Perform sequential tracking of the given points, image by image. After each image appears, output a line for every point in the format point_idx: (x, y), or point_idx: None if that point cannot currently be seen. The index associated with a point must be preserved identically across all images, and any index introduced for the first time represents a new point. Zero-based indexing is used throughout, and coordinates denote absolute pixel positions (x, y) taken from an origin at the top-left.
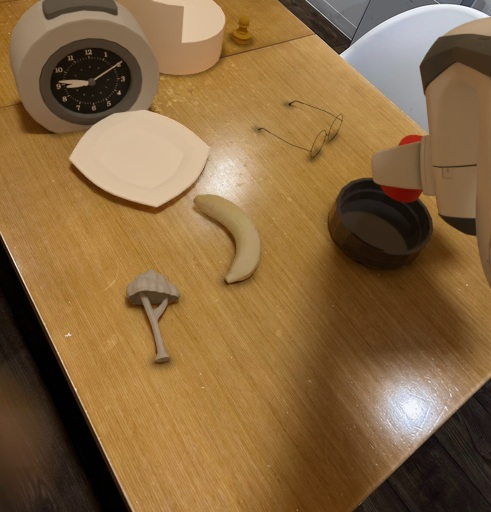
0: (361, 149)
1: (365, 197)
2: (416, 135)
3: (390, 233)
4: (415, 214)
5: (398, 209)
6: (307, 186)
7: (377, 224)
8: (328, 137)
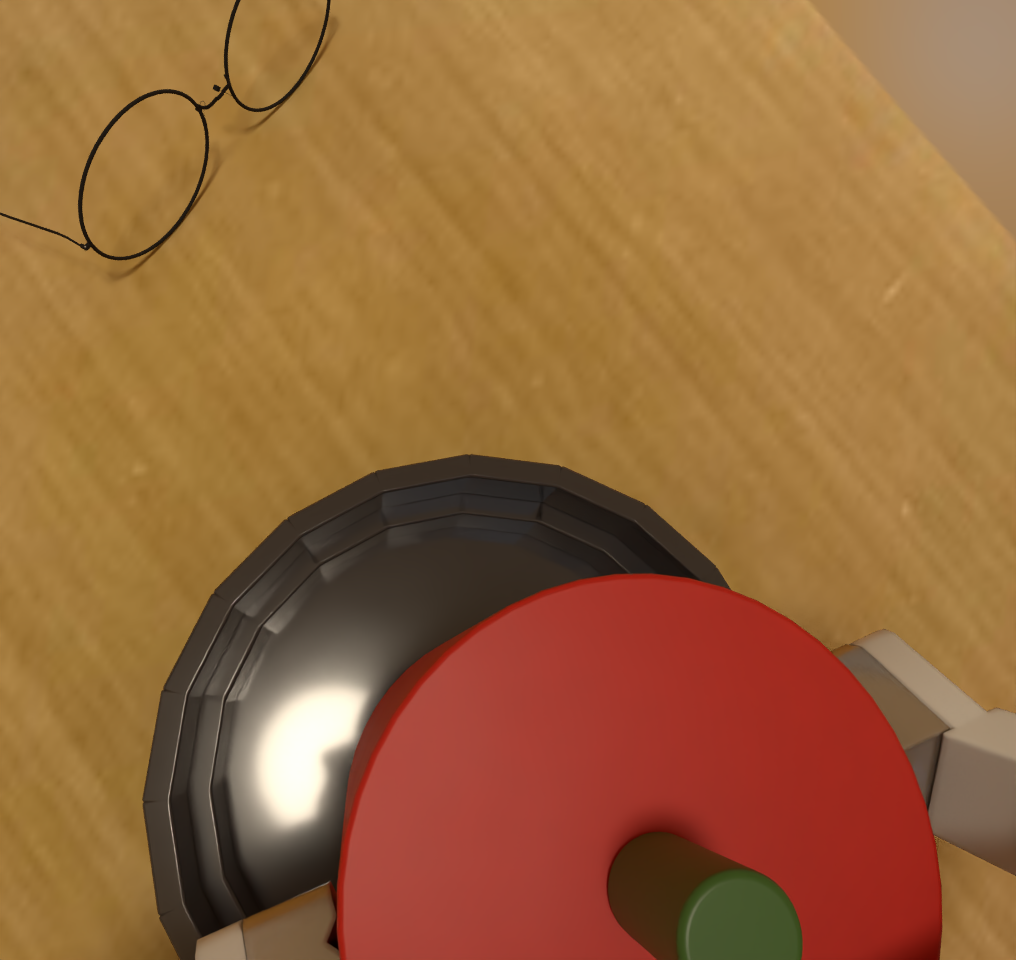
0: (458, 146)
1: (428, 530)
2: (611, 593)
3: None
4: None
5: None
6: (91, 476)
7: None
8: (240, 103)
